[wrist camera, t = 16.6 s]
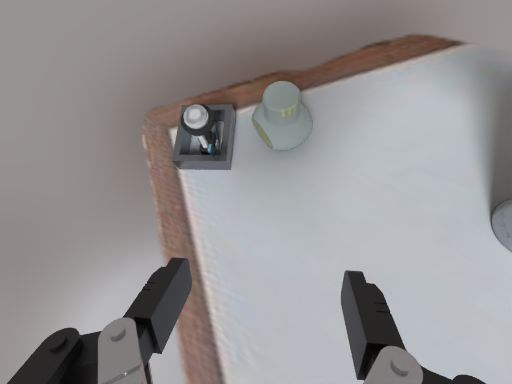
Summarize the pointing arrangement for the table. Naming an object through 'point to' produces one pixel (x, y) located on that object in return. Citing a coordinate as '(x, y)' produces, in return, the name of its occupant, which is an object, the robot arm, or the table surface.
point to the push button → (201, 127)
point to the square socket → (207, 161)
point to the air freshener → (282, 117)
